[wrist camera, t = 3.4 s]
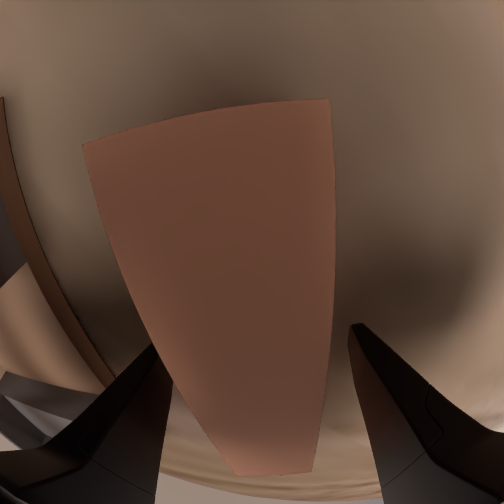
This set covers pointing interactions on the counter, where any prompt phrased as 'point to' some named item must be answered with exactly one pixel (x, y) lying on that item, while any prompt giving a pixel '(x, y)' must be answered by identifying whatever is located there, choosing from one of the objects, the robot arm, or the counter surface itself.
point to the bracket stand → (37, 330)
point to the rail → (232, 266)
